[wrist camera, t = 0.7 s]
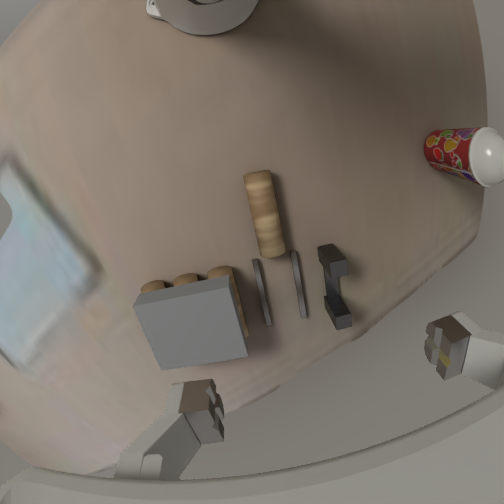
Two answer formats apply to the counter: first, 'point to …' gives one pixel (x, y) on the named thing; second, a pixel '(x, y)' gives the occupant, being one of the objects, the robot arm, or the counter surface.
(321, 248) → the posts
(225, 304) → the slab
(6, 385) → the counter surface
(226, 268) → the roller bed
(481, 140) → the smoothie
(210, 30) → the robot arm
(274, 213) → the roller
